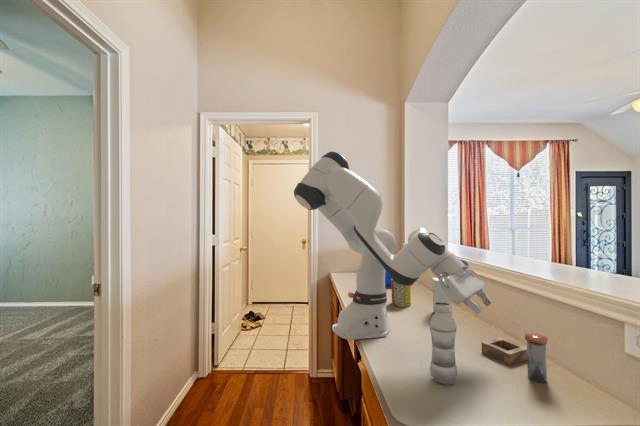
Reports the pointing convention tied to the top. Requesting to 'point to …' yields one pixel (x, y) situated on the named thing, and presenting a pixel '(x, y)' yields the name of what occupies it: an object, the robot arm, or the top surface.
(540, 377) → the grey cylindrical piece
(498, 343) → the collar
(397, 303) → the beverage can
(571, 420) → the top surface
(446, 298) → the skincare box
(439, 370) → the plastic bottle
